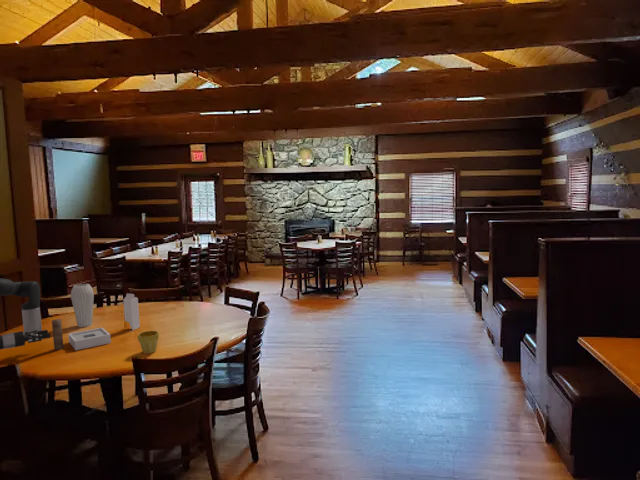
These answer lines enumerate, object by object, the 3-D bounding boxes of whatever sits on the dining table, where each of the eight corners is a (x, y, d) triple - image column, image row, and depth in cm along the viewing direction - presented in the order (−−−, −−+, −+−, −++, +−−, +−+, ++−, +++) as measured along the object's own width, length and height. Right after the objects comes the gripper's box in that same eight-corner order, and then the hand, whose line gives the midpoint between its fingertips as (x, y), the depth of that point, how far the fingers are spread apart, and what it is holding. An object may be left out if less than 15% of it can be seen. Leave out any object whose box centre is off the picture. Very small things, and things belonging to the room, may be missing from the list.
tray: (69, 342, 268) (68, 333, 268) (102, 335, 279) (102, 327, 279) (75, 350, 254) (74, 341, 254) (110, 342, 265) (110, 334, 265)
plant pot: (142, 356, 242) (140, 337, 241) (136, 351, 250) (135, 333, 249) (162, 351, 248) (161, 333, 247) (156, 346, 256) (155, 329, 255)
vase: (68, 328, 298) (64, 287, 295) (83, 322, 311) (80, 282, 308) (86, 328, 294) (82, 287, 292) (101, 322, 307) (97, 283, 305)
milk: (132, 327, 296) (129, 292, 294) (140, 327, 294) (137, 293, 292) (125, 329, 290) (122, 294, 288) (133, 330, 288) (130, 295, 286)
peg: (54, 348, 259) (52, 319, 257) (64, 347, 260) (61, 318, 259) (53, 350, 255) (51, 321, 253) (63, 349, 256) (60, 320, 255)
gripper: (14, 336, 238) (50, 329, 248) (11, 330, 249) (46, 323, 259) (15, 350, 239) (51, 343, 249) (12, 343, 250) (47, 337, 260)
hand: (49, 333), depth 254 cm, fingers open, 8 cm apart
